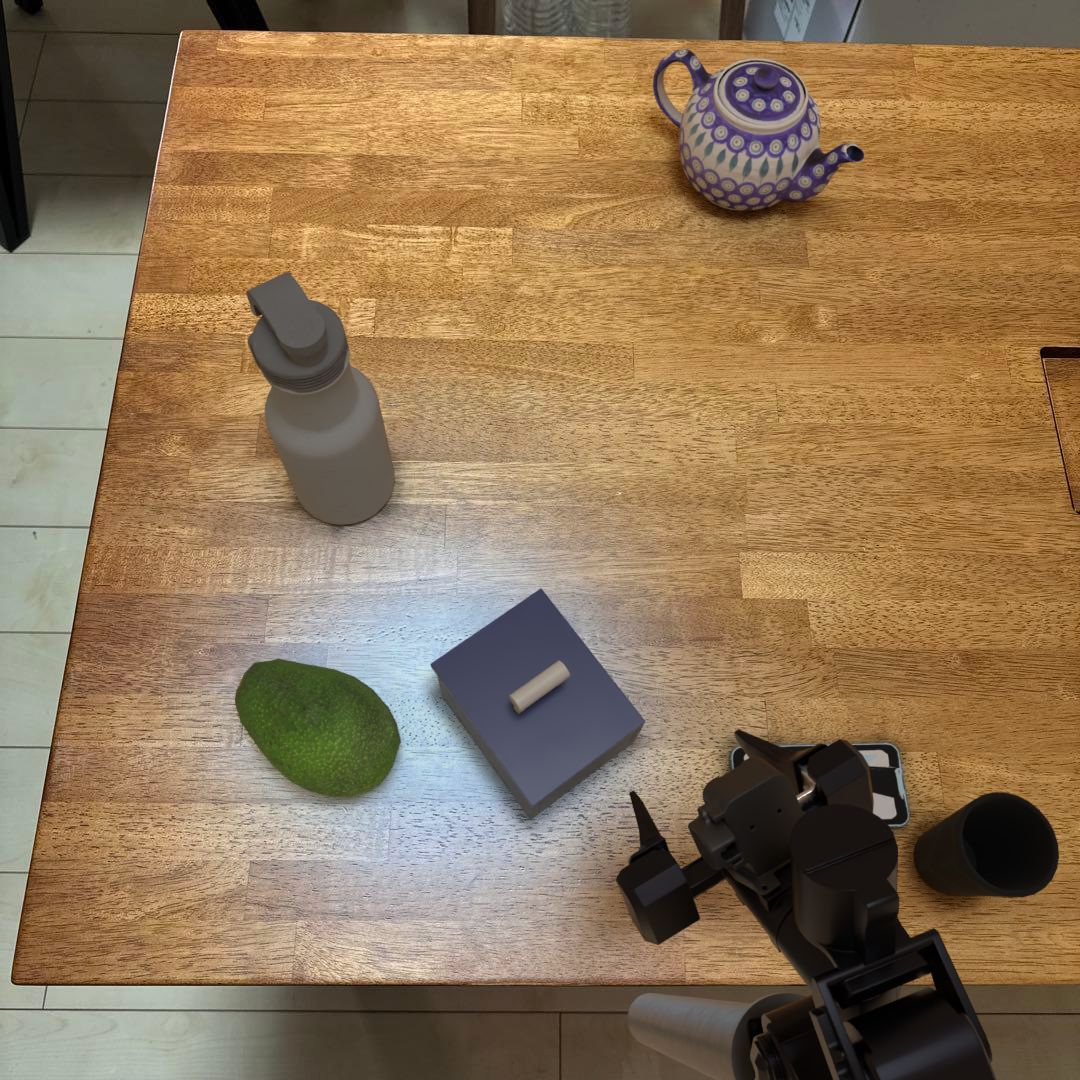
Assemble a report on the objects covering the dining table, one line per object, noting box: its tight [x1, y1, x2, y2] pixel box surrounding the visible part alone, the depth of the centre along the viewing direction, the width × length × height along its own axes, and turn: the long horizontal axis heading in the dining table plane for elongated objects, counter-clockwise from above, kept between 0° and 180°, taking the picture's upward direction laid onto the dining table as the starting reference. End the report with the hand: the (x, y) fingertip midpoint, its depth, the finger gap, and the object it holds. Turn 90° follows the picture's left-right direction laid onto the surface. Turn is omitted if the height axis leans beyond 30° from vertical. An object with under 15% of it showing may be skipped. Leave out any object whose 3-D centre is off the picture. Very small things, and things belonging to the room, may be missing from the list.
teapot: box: [652, 48, 865, 211], centre depth 110 cm, size 25×15×15 cm, turn 51°
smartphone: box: [729, 741, 911, 829], centre depth 89 cm, size 7×1×15 cm
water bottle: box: [245, 271, 396, 526], centre depth 87 cm, size 10×10×28 cm
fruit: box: [234, 658, 402, 798], centre depth 86 cm, size 15×10×10 cm, turn 55°
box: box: [436, 675, 644, 821], centre depth 88 cm, size 14×12×7 cm
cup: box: [912, 791, 1060, 898], centre depth 82 cm, size 8×8×12 cm
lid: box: [429, 588, 646, 808], centre depth 83 cm, size 14×12×4 cm
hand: (685, 764), depth 76 cm, fingers open, 9 cm apart
